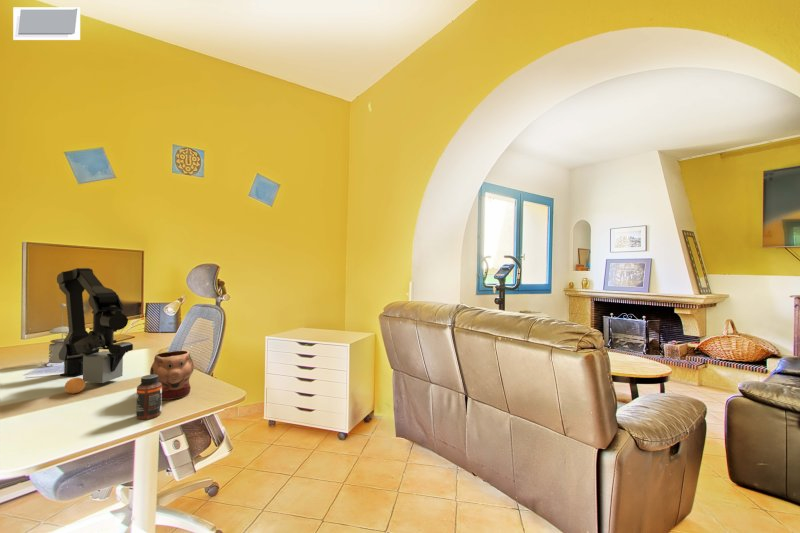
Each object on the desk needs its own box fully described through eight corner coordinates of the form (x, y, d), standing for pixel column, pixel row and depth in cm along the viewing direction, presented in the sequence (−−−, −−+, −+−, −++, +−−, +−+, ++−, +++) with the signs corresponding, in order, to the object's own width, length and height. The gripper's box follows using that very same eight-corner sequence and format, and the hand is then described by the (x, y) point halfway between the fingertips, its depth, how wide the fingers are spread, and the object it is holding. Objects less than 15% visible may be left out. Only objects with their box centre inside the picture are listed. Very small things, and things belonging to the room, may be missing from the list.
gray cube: (82, 381, 124) (83, 356, 124) (103, 374, 131) (104, 350, 131) (102, 382, 123) (103, 357, 123) (122, 376, 131) (122, 352, 130)
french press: (40, 367, 143) (41, 305, 143) (54, 359, 154) (55, 302, 154) (71, 365, 147) (72, 304, 147) (83, 358, 158) (84, 301, 158)
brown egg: (72, 374, 119) (77, 386, 121) (57, 384, 114) (63, 396, 116) (86, 374, 118) (91, 386, 120) (72, 384, 114) (77, 397, 116)
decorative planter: (144, 390, 122) (145, 349, 122) (184, 382, 130) (185, 344, 130) (156, 407, 107) (157, 361, 107) (201, 398, 116) (202, 355, 116)
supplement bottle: (166, 412, 105) (167, 373, 104) (150, 421, 99) (151, 380, 99) (147, 410, 105) (148, 372, 105) (130, 419, 99) (131, 378, 99)
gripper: (56, 329, 120) (55, 376, 120) (105, 332, 118) (104, 379, 118) (88, 324, 131) (87, 366, 131) (134, 326, 129) (133, 369, 129)
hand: (102, 370), depth 127 cm, fingers closed on gray cube, 8 cm apart
